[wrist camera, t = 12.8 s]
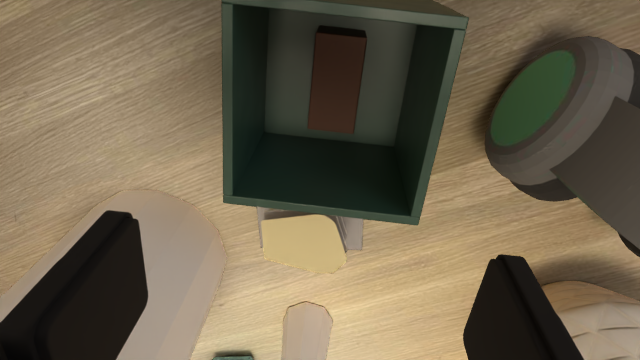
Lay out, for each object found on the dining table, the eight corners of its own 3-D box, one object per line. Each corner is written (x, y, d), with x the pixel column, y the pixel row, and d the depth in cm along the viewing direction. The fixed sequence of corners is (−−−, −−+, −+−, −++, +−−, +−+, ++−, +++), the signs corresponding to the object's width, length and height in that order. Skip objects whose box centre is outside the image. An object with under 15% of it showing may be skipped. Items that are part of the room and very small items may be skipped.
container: (74, 182, 40) (-109, 329, 24) (225, 196, 40) (142, 355, 24) (99, 297, 47) (-30, 473, 31) (229, 311, 46) (166, 494, 30)
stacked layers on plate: (261, 247, 42) (249, 285, 37) (252, 166, 38) (239, 196, 33) (362, 249, 42) (363, 288, 37) (364, 167, 37) (367, 198, 33)
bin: (263, -21, 31) (220, -11, 21) (429, -2, 31) (469, 17, 21) (258, 135, 37) (223, 203, 26) (398, 151, 37) (418, 225, 26)
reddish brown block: (318, 24, 32) (315, 31, 29) (365, 29, 32) (367, 37, 29) (310, 114, 35) (307, 129, 32) (353, 119, 35) (353, 134, 32)
